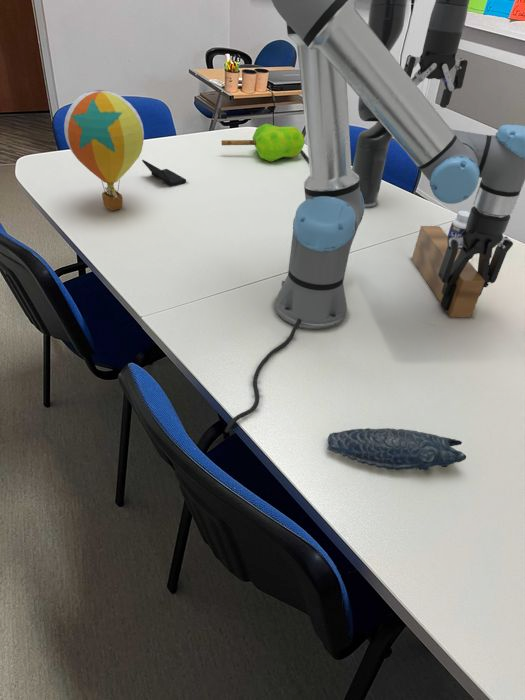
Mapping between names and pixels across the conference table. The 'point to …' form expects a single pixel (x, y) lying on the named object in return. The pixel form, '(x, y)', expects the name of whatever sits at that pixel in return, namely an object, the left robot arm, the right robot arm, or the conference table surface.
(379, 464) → the fish model
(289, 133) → the decorative tree
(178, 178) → the black angled flat piece
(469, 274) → the bar
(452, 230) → the pill bottle
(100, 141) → the toy
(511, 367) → the conference table surface
